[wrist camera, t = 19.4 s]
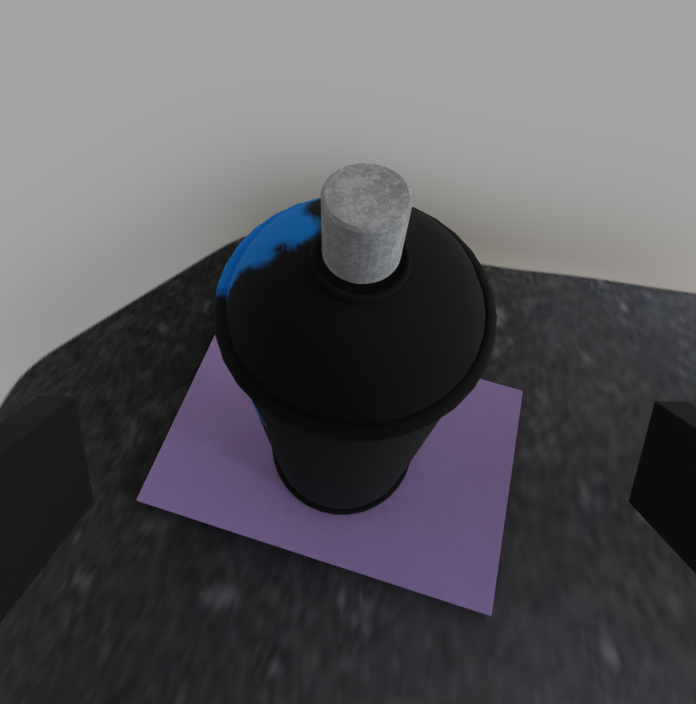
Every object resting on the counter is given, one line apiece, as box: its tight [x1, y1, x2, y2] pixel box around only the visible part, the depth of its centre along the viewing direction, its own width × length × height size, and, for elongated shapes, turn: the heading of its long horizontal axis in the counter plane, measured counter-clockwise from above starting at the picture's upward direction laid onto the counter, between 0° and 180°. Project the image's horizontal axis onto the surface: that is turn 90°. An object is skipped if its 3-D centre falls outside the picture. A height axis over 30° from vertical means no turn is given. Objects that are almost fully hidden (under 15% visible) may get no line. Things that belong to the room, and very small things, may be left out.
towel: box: [136, 336, 523, 616], centre depth 28 cm, size 20×13×1 cm, turn 74°
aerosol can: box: [214, 163, 497, 515], centre depth 19 cm, size 8×8×20 cm
